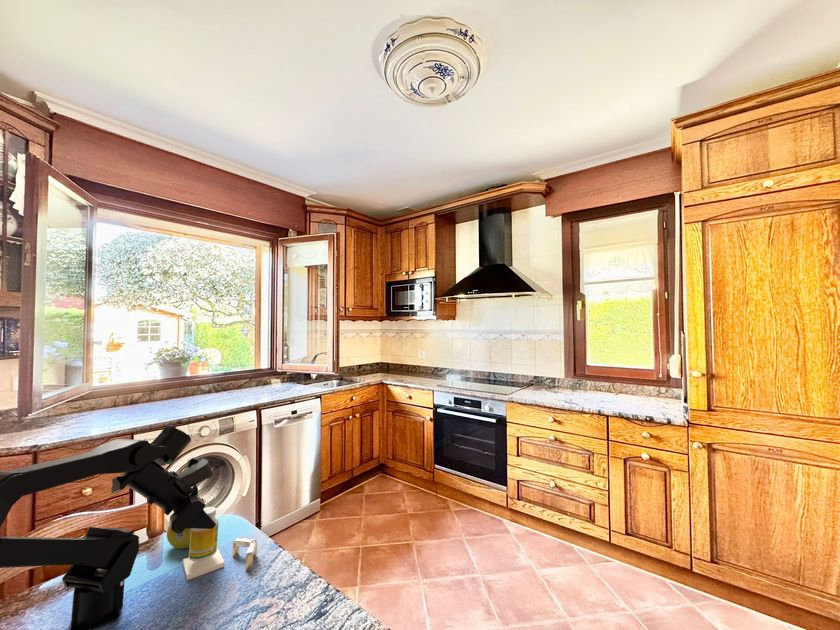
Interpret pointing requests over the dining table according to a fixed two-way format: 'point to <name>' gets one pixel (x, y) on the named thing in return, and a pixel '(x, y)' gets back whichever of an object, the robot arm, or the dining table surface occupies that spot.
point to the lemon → (179, 538)
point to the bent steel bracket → (250, 553)
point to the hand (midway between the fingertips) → (212, 521)
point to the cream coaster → (202, 565)
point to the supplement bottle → (204, 539)
